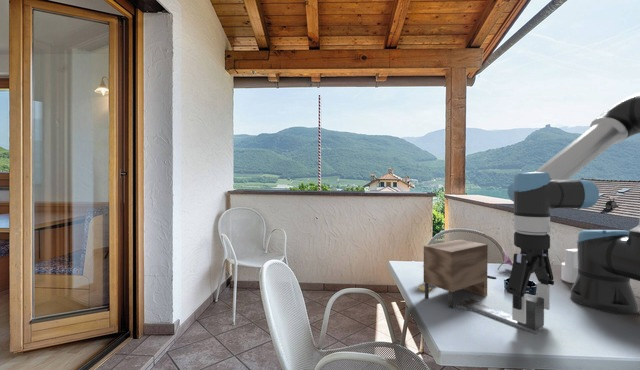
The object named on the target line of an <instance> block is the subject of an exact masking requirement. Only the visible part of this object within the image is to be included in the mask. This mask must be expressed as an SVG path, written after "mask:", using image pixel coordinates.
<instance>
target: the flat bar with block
mask: <svg viewBox="0 0 640 370" xmlns="http://www.w3.org/2000/svg"><path fill="white" fill-rule="evenodd" d="M524 296H526V323H525V324H523V323H521V322H518V321H515V320H512V314H510V313H507V312H505V311H502V310H500V309H496V308H493V307H490V306H488V305H485V304H482V300H478V299H475V298H473V297H471V298H468V299H465V300H462V301H460V302H457V303H456V308H458V307H459V308H458V309H461V308H462V309H461V310H463V309H464V310H463V311H468V309H469V310H471V309H472V310H471V311H474V312H477V313H479V314H482V315H484V316H487V317H490V318H492V319H495V320H497V321H500V322H503V323H505V324H508V325H511V326H514V327H516V328H519V329H521V330H523V331H526V332H529V333H532V334H534V335H537V334H539V333H541V332H542V331H543V330H544V326H545V309H544V298H541V297H537V295H533V294H530V293H524Z"/></svg>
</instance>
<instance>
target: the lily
mask: <svg viewBox="0 0 640 370" xmlns="http://www.w3.org/2000/svg"><path fill="white" fill-rule="evenodd" d="M501 247H502V250H503V251H502V253H503V254H504V259H503V260H504V261H503V262H502V263H501V264H500V265H499V267H498V268H497V270H499V269H500V268H501V266H502V265H503V264H507V265H510V266H513V257H512V258H511V257H509V256H508V253H507V252H506V249H504V248H503V246H501Z"/></svg>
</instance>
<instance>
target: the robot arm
mask: <svg viewBox="0 0 640 370" xmlns="http://www.w3.org/2000/svg"><path fill="white" fill-rule="evenodd" d="M638 134H640V92H638V93H635V94H633V95H630V96H628V97H626V98H624V99H622V100H620V101H619V102H617V103H615V104H614V105H612V106H611V107H610V108H608V109H607V110H606V111H603V113H601V114H600V115H599V116H597V117H596V118H594V120H592V121H591V123H590V126H589V128H588V129H587V130H586V131H584V132H583V133H582V134H581V135H579V136H578V137H577V138H575V139H574V140H572V142H570V143H569V144H567V146H565V147H564V148H562V149H561V150H560V151H559V152H558V153H557V154H555V155H553V157H552V158H550V159H549V160H547V161H546V162H544V164H543V165H541V166H540V167H538V168H537V169H536V170H535V171H534V172H533V171H532V172H531V171H530V172H529V171H528V172H518V173H516V174H515V175H514V177H513V181H512V182H511V183H509V185H508V188H507V196H508V198H509V199H510V200H511V202H513V218H512V221H513V229H514V230H515V231H514V233H513V245H514V246H515V247H516V248H519V249H520V253H516V252H515V253H514V254H513V257H512V261H513V266H512V265H511V266H512V267H511V271H510V276H509V281H508V284H507V288H506V292H507V294H510V295H511V296H512V297H511V298H512V299H511V301H512V303H511V304H512V305H511V306H512V309H511V310H512V311H511V312H512V314H511V315H512V320H515V321H518V322H521V323H523V324H525V323H526V296H524V294H526V293H525V292H526V289H527V287H528V285H529V281H530V278H531V276H532V274H535V277H536V279H537V282H536V296H537V297H541V298H544V310H547V311H549V310H551V309H550V307H551V305H550V304H551V303H550V302H551V300H550V297H551V295H550V294H551V293H550V291H551V290H550V285H551V286H554V285H555V281H554V275H553V271H552V266H551V262H550V257H549V249H551V235H549V233H550V232H551V210H554V209H555V210H556V209H558V210H559V209H560V210H561V209H563V210H564V209H567V210H568V209H569V210H570V209H573V210H575V209H577V210H581V209H589V208H591V207H594V205H596V204H597V203H598V201H599V199H600V190H599V187H597V184H595V183H594V182H593V181H592V180H591V181H590V180H588V179H580V178H577V179H571V178H572V177H573V176H575V175H576V174H577V173H579V172H580V171H581V170H582V169H584V167H586V166H587V165H589V164H590V163H591V162H592V161H594V160H595V159H596V158H597V157H599V156H600V155H602V153H604V152H605V151H606V150H608V149H609V148H610V147H612V146H613V145H614V144H620V143H622V142H624V141H625V140H626V139H628V138H630V137H632V136H634V135H638ZM577 237H578V239H577V242H576V243H577V245H576V246H577V248H576V249H578V275H577V278H576V280H575V282H574V284H573V283H572V287H571V289H570V299H571V300H572V301H574V302H575V303H577V304H580V305H582V306H584V307H587V308H590V309H594V310H598V311H602V312H607V313H612V314H621V315H635V314H638V313H639V311H640V308H639V306H640V305H639V301H638V299H637V297H636V294H635V293H634V290H633V287H632V284H631V280H634V281H637V282H640V219H639V221H638V224H637V226H635V227H633V228H630V229H629V230H624V229H622V230H621V229H583V230H581V231H579V232H578V236H577Z"/></svg>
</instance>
